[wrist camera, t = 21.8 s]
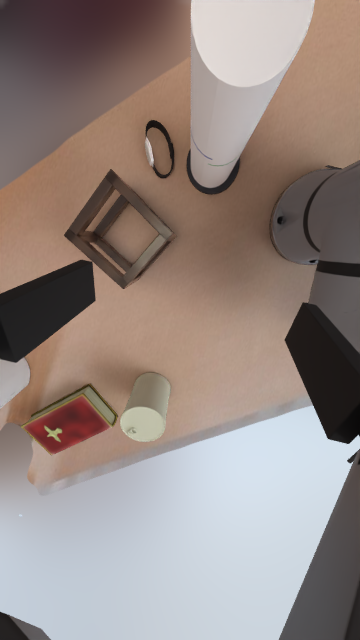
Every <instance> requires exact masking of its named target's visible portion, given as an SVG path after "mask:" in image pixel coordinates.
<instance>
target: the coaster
mask: <svg viewBox="0 0 360 640" xmlns="http://www.w3.org/2000/svg"><path fill="white" fill-rule="evenodd" d="M239 164H240V157H239V159H238V160H237V162H236V164H235V166H234V168H233V169H232V171H231V173H230V175H229V176H228V178H227V179H226V180H225V182H224V183H222V184H221V185H219V186H217V187H214V188H207V187H203V186H202V185H200V184H199V183H198V182H197V181H196V180H195V179H194V177H193V175H192V172H191V148H190V151H189V153H188V157H187V172H188V176H189V179H190V181H191V183H192V184H193V185H194V187H195V188H196V189H198V190H199V191H201V192H202V193H205V194H217V193H220V192H222V191H224V190H226V189H227V188H228V187H229V186H230V185H231V184H232V182H233V181H234V179H235V178H236V176H237V173H238V170H239Z"/></svg>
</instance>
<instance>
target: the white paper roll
mask: <svg viewBox="0 0 360 640" xmlns="http://www.w3.org/2000/svg"><path fill="white" fill-rule="evenodd" d="M29 380H30V369H29V366H28V363H27V361H26V360H25V358H24V357H23V358H22V359H21V360H20V361H18V362H17V363H14V362H9V361H5V360H1V359H0V408H2V407H3V406H4V405H5V404H6V403H7V402H9V401H10V400H11V399H12V398H13V397H14V396H16V395H17V394H18V393H19V392H20V391H21V390H22V389H24V388H25V387H26V386H27V385H28V384H29Z"/></svg>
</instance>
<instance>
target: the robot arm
mask: <svg viewBox="0 0 360 640" xmlns="http://www.w3.org/2000/svg"><path fill="white" fill-rule="evenodd" d="M325 167H328V168H333V169H320V170H316V171H313V172H310V173H308V174H306V175H304V176H303V177H301V178H299V179H298V180H296V181H295V182H293V183H292V184H291V185H290V186H289V187H288V188H287V189H286V190H285V191H284V192H283V193H282V194H281V196H280V197H279V199H278V200H277V202H276V204H275V206H274V209H273V211H272V215H271V220H270V235H271V240H272V243H273V245H274V247H275V248H276V250H277V251H278V253H279V254H280V255H281V256H283V257H284V258H285V259H287V260H289V261H291V262H294V263H298V264H304V265H314V264H317V268H316V271H315V276H314V280H313V284H312V289H311V293H310V297H309V302H308V303H304V302H303V303H302V305H301V307H300V309H299V311H298V313H297V316H296V318H295V320H294V322H293V324H292V326H291V328H290V330H289V332H288V334H287V336H286V338H285V342H286V344H287V346H288V349H289V351H290V353H291V356H292V358H293V360H294V362H295V365H296V367H297V369H298V372H299V374H300V376H301V378H302V381H303V383H304V385H305V388H306V390H307V392H308V394H309V397H310V399H311V401H312V404H313V406H314V408H315V410H316V413H317V415H318V417H319V419H320V422H321V424H322V426H323V429H324V431H325V433H326V436H327V438H328V439H330V440H334V441H339V442H342V443H347V444H349V443H350V442H351V441H352V440H353V439H354V438H355V437H356V436H357V435H359V436H360V160H359V161H357V162H355V163H353V164H351V165H349V166H347V167H345V168H343V169H341V168H337V167H333V166H325ZM94 301H96V300H95V288H94V276H93V264H92V262H90V261H85V260H80V261H77V262H75V263H72V264H70V265H68V266H65V267H63V268H61V269H58V270H56V271H53V272H51V273H49V274H46V275H44V276H42V277H39V278H37V279H34V280H32V281H30V282H27V283H25V284H23V285H20V286H18V287H16V288H13V289H11V290H8V291H6V292H4V293H1V294H0V359H1V360H5V361H9V362H14V363H17V362H18V361H20V360H21V359H22V358H23V357H25V356H26V355H27V354H28V353H30V352H31V351H32V350H34V349H35V348H36V347H37V346H39V345H40V344H41V343H42V342H44V341H45V340H46V339H48V338H49V337H50V336H51V335H53V334H54V333H55V332H56V331H58V330H59V329H60V328H61V327H63V326H64V325H65V324H67V323H68V322H69V321H70V320H72V319H73V318H74V317H75V316H77V315H78V314H79V313H80V312H82V311H83V310H84V309H86V308H87V307H88V306H89V305H91V304H92V303H93V302H94ZM347 461H348V462H349V463H352V462H353V461H354V462H353V464H352V466H351V469H350V471H349V474H348V476H347V478H346V481H345V483H344V486H343V488H342V490H341V493H340V495H339V498H338V500H337V502H336V505H335V507H334V509H333V512H332V514H331V516H330V519H329V521H328V524H327V526H326V528H325V531H324V533H323V536H322V538H321V540H320V543H319V545H318V547H317V550H316V552H315V555H314V557H313V559H312V562H311V564H310V566H309V569H308V571H307V574H306V576H305V578H304V581H303V583H302V585H301V588H300V590H299V593H298V595H297V598H296V600H295V602H294V605H293V607H292V609H291V612H290V614H289V616H288V619H287V621H286V624H285V626H284V628H283V631H282V633H281V635H280V638H279V640H360V449H359V450H358V451H357V452H356V453H355V454H354V455H353V456H352V457H351V458H350V459H348V460H347ZM0 640H51V639H50V638H49V637H48V636H47V635H46V634H45V633H44V632H43V630H41V629H40V628H38V627H35V626H33V625H31V624H28V623H26V622H24V621H21V620H19V619H16V618H14V617H12V616H10V615H7V614H5V613H2V612H0Z"/></svg>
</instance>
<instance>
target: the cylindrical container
mask: <svg viewBox="0 0 360 640" xmlns="http://www.w3.org/2000/svg"><path fill="white" fill-rule="evenodd" d="M314 3H315V0H192V1H191V172H192V175H193V177H194V179H195V180H196V181H197V182H198V183H199V184H200V185H202V186H203V187H207V188H214V187H217V186H219V185H221V184H222V183H224V182H225V180H226V179H227V178H228V176H229V175H230V173H231V171H232V169H233V168H234V166H235V164H236V162H237V160H238V159H239V157H240V155H241V153H242V151H243V149H244V148H245V146H246V144H247V142H248V140H249V139H250V137H251V135H252V133H253V131H254V130H255V128H256V126H257V124H258V122H259V121H260V119H261V117H262V115H263V113H264V111H265V110H266V108H267V106H268V104H269V102H270V101H271V99H272V97H273V95H274V93H275V92H276V90H277V88H278V86H279V84H280V83H281V81H282V79H283V77H284V75H285V73H286V72H287V70H288V68H289V66H290V64H291V63H292V61H293V59H294V57H295V55H296V54H297V52H298V50H299V48H300V46H301V44H302V42H303V40H304V38H305V36H306V33H307V31H308V28H309V25H310V21H311V18H312V14H313V9H314Z"/></svg>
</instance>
